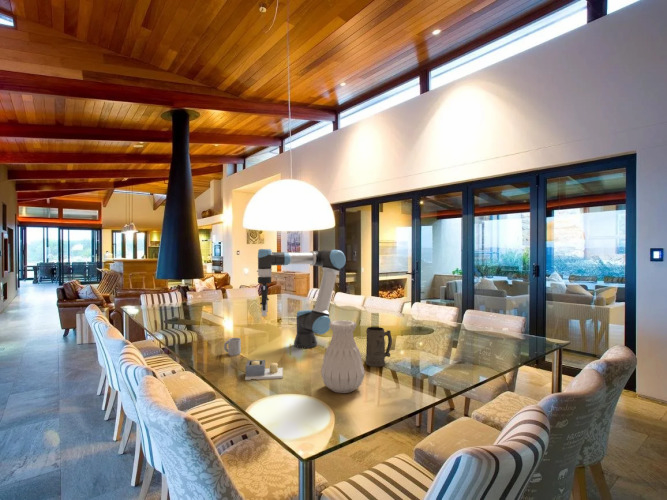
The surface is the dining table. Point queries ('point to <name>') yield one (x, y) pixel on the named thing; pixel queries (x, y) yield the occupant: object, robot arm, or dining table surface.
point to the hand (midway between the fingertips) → (264, 314)
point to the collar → (255, 368)
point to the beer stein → (377, 346)
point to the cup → (233, 346)
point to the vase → (342, 359)
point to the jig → (268, 372)
